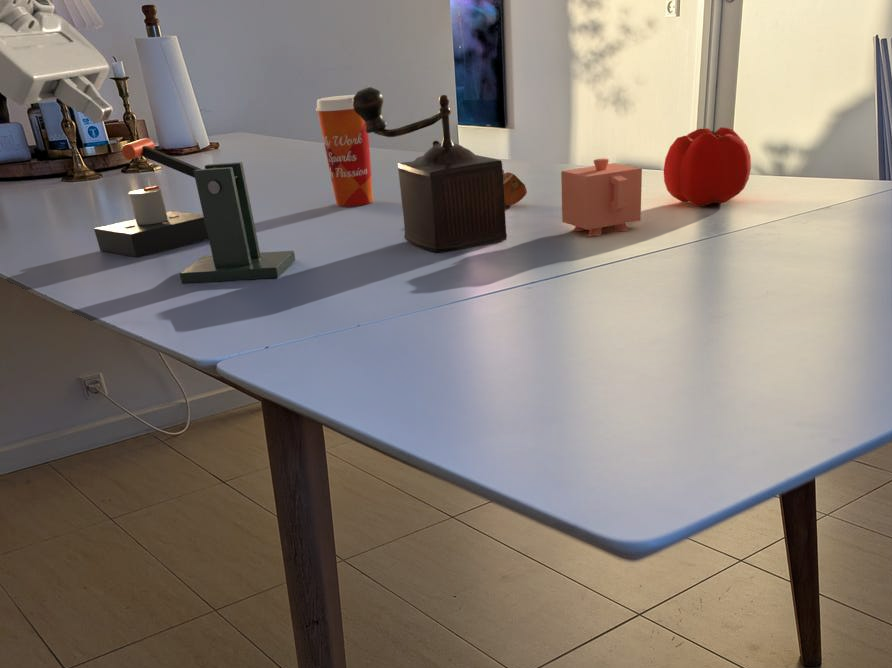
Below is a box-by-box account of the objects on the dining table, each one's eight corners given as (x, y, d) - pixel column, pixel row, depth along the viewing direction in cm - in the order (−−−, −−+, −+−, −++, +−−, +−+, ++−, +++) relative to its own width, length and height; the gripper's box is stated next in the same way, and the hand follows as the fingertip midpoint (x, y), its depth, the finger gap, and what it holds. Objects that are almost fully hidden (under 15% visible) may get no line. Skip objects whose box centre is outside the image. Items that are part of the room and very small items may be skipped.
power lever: (120, 160, 105) (123, 138, 104) (140, 153, 110) (143, 131, 108) (223, 202, 107) (227, 181, 105) (238, 193, 112) (242, 173, 110)
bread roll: (535, 207, 135) (534, 170, 132) (492, 213, 133) (490, 176, 131) (515, 199, 142) (513, 163, 139) (474, 205, 140) (471, 169, 137)
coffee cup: (321, 208, 147) (305, 101, 139) (341, 198, 154) (326, 96, 145) (370, 207, 145) (356, 98, 137) (387, 197, 152) (375, 93, 143)
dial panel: (136, 257, 126) (130, 232, 124) (100, 250, 132) (93, 227, 130) (215, 237, 133) (210, 214, 132) (177, 232, 139) (172, 209, 137)
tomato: (673, 195, 135) (676, 125, 130) (756, 195, 130) (762, 123, 125) (652, 209, 127) (654, 136, 122) (738, 210, 123) (745, 134, 118)
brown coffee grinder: (470, 227, 126) (459, 75, 116) (509, 240, 118) (500, 77, 108) (366, 246, 121) (345, 88, 111) (398, 260, 113) (378, 91, 102)
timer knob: (145, 225, 128) (137, 192, 126) (131, 223, 131) (122, 190, 128) (173, 220, 131) (165, 186, 128) (158, 217, 133) (150, 185, 131)
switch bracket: (181, 283, 111) (155, 175, 104) (205, 265, 118) (182, 164, 111) (277, 277, 110) (257, 168, 103) (295, 260, 117) (277, 157, 110)
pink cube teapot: (601, 218, 125) (602, 150, 121) (649, 231, 116) (651, 159, 111) (551, 226, 123) (549, 158, 118) (595, 241, 114) (595, 167, 109)
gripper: (-50, -6, 90) (76, 101, 94) (50, -6, 106) (153, 85, 111) (-72, 52, 93) (50, 153, 97) (27, 43, 110) (128, 129, 114)
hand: (105, 117), depth 104 cm, fingers closed
